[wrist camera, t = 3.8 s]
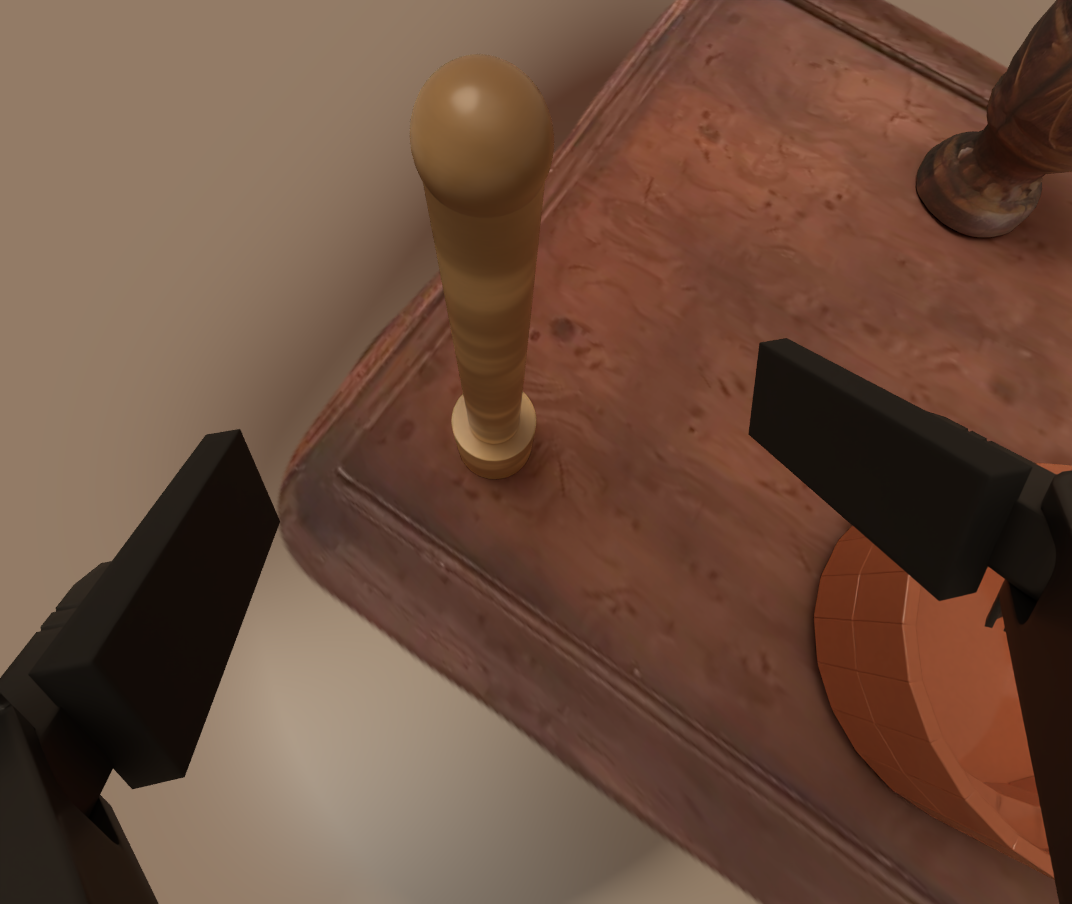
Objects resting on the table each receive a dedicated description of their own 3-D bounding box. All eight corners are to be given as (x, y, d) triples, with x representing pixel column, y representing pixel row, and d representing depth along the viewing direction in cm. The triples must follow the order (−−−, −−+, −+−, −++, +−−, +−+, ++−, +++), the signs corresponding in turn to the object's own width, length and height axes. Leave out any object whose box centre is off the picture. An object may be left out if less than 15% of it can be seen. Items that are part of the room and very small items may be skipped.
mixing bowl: (994, 908, 25) (1179, 1026, 18) (741, 634, 27) (820, 647, 20) (1165, 658, 28) (1373, 678, 22) (927, 436, 31) (1047, 391, 24)
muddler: (491, 494, 28) (463, 228, 8) (442, 439, 29) (299, 58, 8) (546, 447, 29) (655, 94, 9) (499, 394, 30) (493, -52, 9)
